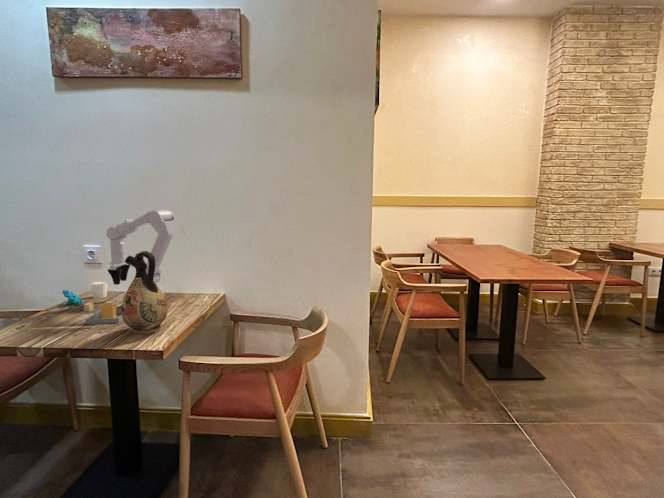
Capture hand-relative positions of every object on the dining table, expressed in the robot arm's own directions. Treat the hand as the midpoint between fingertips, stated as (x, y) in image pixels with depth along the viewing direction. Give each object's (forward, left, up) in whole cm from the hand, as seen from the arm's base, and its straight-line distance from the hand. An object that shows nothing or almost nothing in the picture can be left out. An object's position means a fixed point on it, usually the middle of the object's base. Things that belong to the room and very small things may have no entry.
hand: (120, 282), depth 183 cm
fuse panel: (+4, +14, -9) cm, 17 cm away
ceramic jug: (-24, +40, -10) cm, 48 cm away
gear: (+19, +3, -10) cm, 22 cm away
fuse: (-5, +26, -9) cm, 28 cm away
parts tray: (-5, +26, -9) cm, 28 cm away
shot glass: (+14, -11, -10) cm, 20 cm away
